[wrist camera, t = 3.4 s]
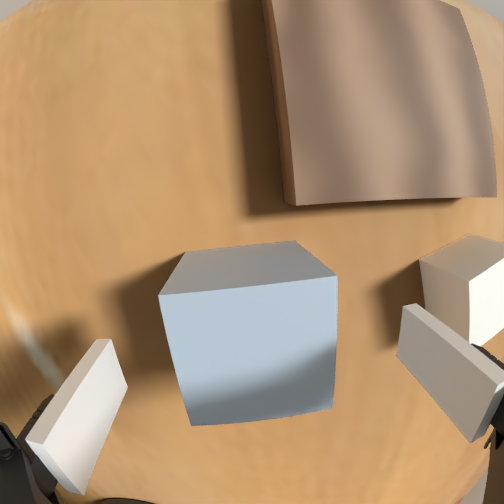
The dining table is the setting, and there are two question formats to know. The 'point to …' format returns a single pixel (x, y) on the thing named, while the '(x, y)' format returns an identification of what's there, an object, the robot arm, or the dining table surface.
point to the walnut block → (377, 101)
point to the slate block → (252, 332)
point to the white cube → (466, 287)
